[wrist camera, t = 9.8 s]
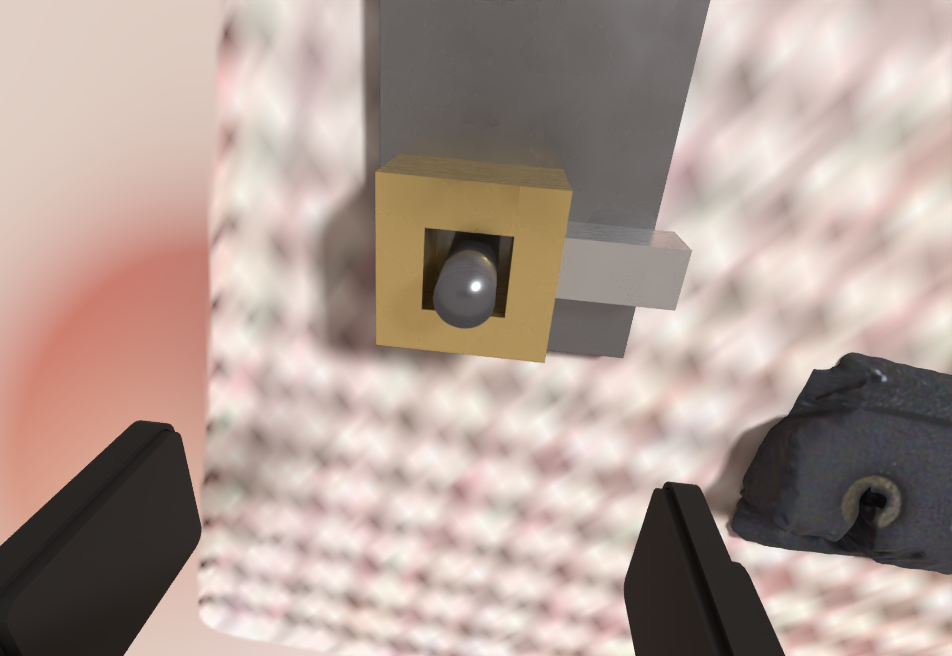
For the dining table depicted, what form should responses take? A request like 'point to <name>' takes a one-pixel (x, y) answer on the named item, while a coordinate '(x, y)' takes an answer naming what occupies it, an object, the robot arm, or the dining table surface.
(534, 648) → the dining table surface
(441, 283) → the grey metal peg
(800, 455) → the dark slate chunk
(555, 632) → the dining table surface
